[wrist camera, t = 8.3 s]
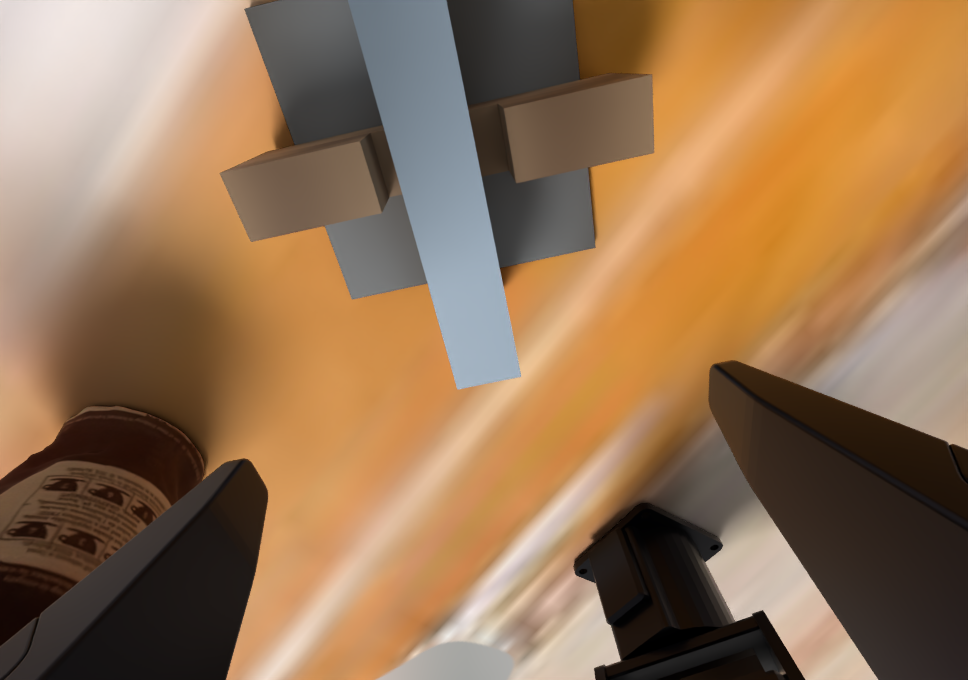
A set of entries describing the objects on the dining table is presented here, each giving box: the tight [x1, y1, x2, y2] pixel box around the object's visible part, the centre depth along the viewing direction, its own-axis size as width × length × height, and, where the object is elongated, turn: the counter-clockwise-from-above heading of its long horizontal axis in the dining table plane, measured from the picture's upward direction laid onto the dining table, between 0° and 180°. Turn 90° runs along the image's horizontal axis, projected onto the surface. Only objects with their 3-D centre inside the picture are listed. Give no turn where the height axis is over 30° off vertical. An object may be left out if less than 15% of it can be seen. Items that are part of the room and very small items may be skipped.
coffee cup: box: [0, 406, 204, 646], centre depth 18 cm, size 9×8×13 cm
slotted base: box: [220, 0, 654, 299], centre depth 16 cm, size 12×10×4 cm
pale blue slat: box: [348, 0, 521, 389], centre depth 15 cm, size 12×2×6 cm, turn 12°
